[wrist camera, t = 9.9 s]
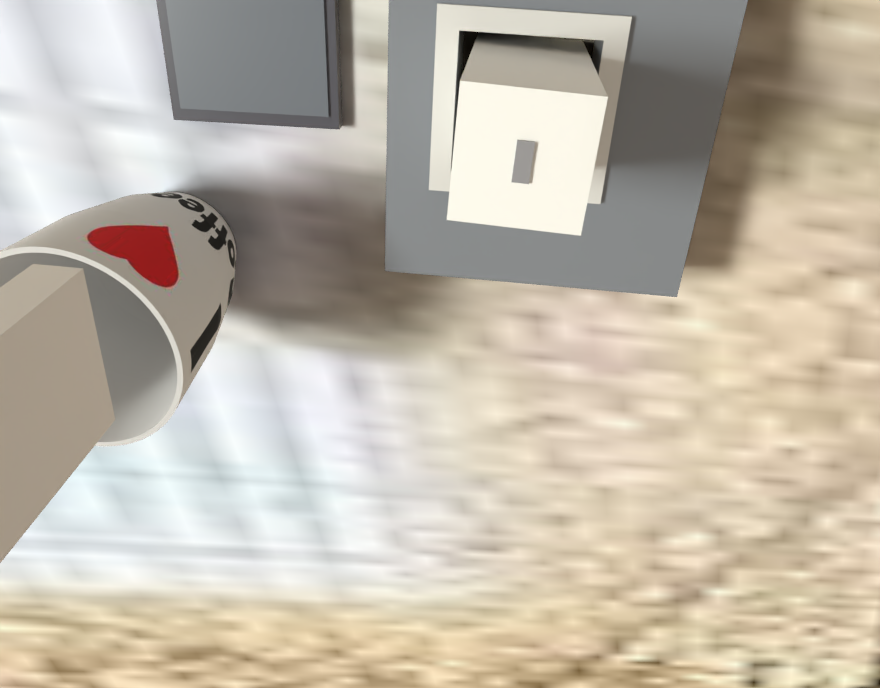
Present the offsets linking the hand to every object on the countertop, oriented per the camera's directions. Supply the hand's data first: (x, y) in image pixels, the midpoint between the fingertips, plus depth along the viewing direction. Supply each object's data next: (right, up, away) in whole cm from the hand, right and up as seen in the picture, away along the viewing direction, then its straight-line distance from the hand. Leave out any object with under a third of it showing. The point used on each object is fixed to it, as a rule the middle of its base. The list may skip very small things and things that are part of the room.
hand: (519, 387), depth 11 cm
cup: (-13, +5, +24) cm, 28 cm away
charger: (+2, +11, +19) cm, 22 cm away
